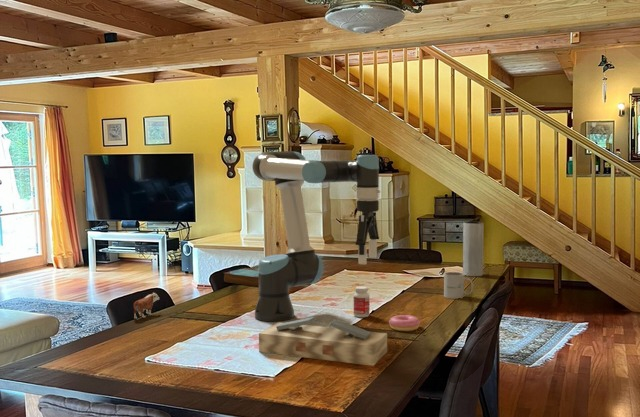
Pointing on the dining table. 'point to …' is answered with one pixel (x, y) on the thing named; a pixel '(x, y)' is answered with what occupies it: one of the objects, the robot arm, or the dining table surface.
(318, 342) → the console
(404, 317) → the doughnut
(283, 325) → the rocker
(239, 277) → the book
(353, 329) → the rocker
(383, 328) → the dining table surface
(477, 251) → the vase
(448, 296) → the mug
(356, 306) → the pill bottle
